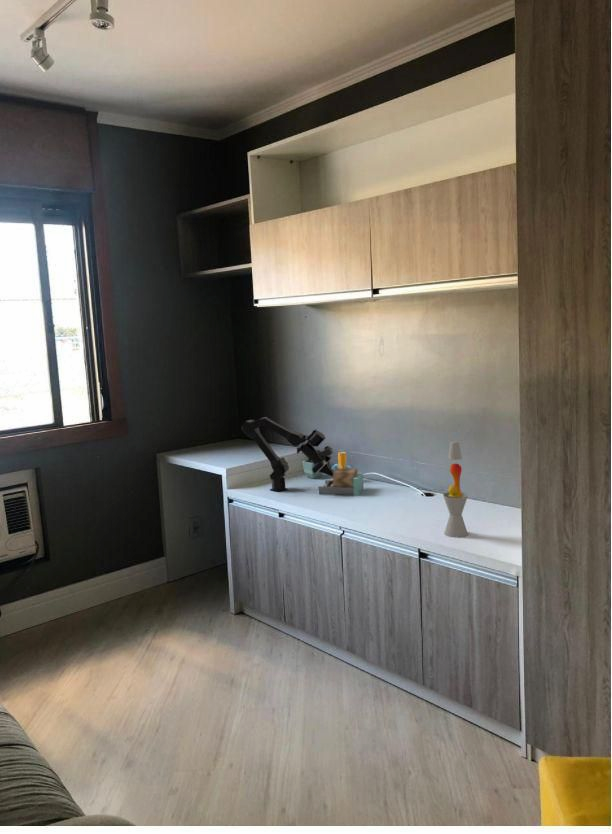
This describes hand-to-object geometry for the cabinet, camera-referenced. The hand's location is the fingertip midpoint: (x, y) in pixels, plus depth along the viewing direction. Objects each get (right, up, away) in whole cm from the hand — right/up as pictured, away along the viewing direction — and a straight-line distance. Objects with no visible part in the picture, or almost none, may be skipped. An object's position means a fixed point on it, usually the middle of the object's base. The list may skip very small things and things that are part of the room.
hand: (334, 476), depth 322 cm
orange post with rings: (+5, -5, +21) cm, 22 cm away
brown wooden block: (+5, -4, -1) cm, 7 cm away
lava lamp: (+43, -16, -71) cm, 84 cm away
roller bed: (+2, -8, 0) cm, 8 cm away
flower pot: (-9, -4, +33) cm, 35 cm away
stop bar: (+11, -7, -2) cm, 14 cm away
